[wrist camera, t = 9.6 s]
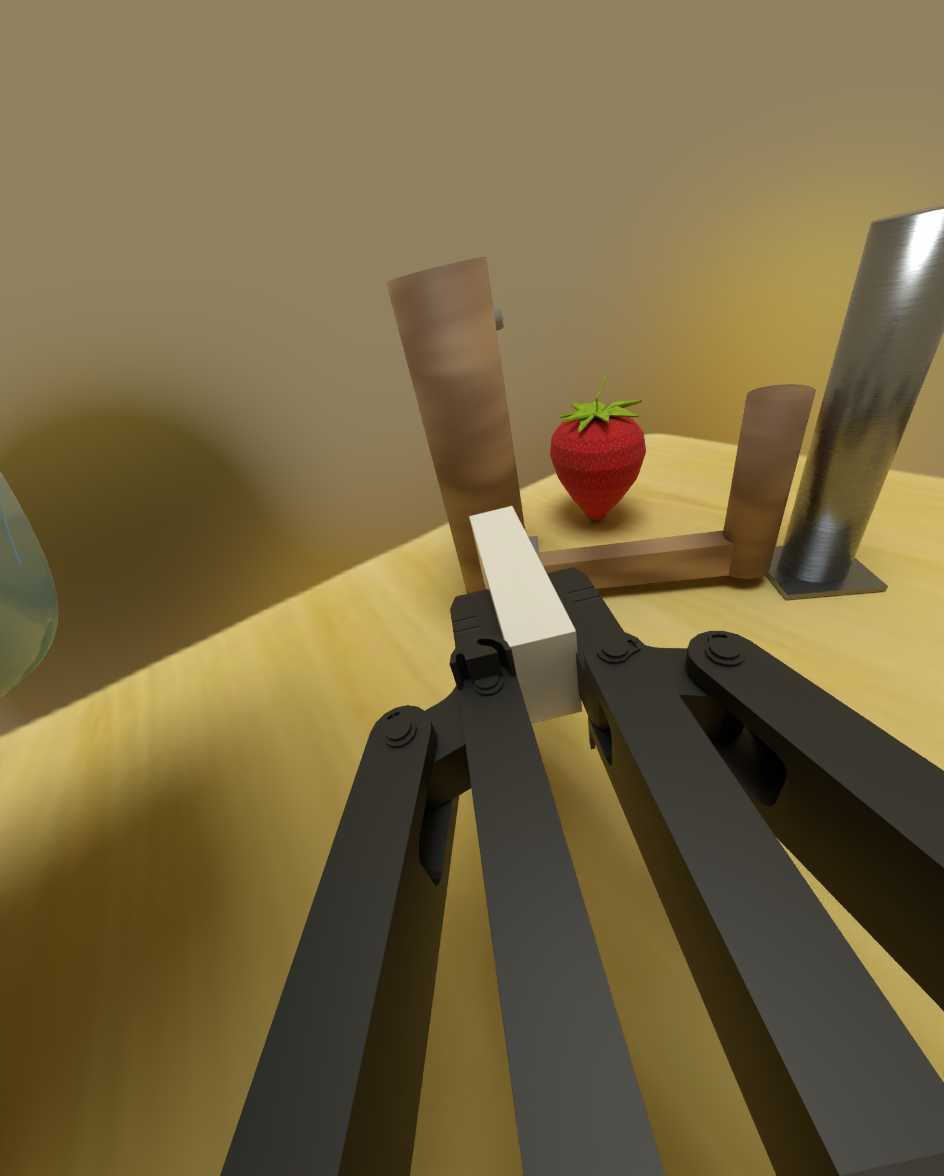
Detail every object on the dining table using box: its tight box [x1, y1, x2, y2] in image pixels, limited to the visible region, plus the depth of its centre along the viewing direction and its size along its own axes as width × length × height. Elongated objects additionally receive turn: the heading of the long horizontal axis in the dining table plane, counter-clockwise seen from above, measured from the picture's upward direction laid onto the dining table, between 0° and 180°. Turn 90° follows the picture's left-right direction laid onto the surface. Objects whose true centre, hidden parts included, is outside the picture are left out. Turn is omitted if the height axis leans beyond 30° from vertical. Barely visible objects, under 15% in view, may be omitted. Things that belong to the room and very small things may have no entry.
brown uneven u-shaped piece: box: [386, 257, 816, 594], centre depth 20 cm, size 17×4×16 cm, turn 85°
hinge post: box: [766, 205, 944, 600], centre depth 19 cm, size 4×4×15 cm
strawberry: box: [550, 373, 646, 521], centre depth 29 cm, size 6×8×10 cm
